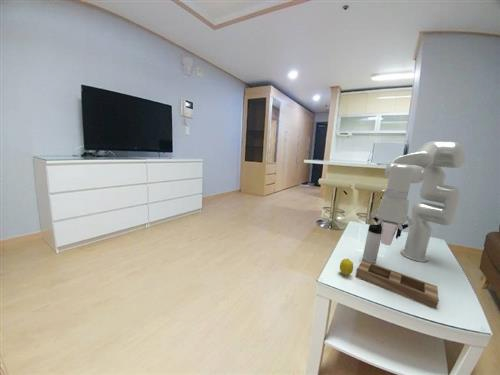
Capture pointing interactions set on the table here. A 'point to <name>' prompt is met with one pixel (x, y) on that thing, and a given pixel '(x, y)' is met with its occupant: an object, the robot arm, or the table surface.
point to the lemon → (346, 266)
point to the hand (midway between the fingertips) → (387, 234)
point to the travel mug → (372, 244)
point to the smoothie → (388, 232)
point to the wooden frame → (399, 283)
